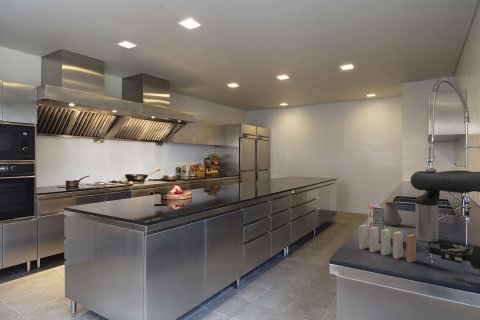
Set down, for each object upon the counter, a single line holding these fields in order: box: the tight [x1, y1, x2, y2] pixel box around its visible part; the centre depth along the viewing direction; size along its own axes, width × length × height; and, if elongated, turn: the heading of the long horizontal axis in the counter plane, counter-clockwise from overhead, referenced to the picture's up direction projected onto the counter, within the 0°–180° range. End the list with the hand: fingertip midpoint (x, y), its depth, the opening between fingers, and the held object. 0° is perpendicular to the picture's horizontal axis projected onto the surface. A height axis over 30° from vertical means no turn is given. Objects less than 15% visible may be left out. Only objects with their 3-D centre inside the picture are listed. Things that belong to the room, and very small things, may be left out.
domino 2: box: [369, 227, 380, 253], centre depth 125 cm, size 4×2×10 cm, turn 125°
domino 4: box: [392, 230, 404, 260], centre depth 117 cm, size 4×2×10 cm, turn 125°
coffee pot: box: [383, 196, 403, 227], centre depth 176 cm, size 21×12×15 cm, turn 143°
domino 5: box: [405, 233, 417, 263], centre depth 113 cm, size 4×2×10 cm, turn 125°
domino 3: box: [380, 228, 391, 256], centre depth 121 cm, size 4×2×10 cm, turn 125°
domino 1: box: [358, 223, 369, 250], centre depth 129 cm, size 4×2×10 cm, turn 125°
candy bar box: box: [367, 203, 385, 243], centre depth 143 cm, size 11×5×16 cm, turn 168°
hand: (434, 247), depth 106 cm, fingers open, 8 cm apart
